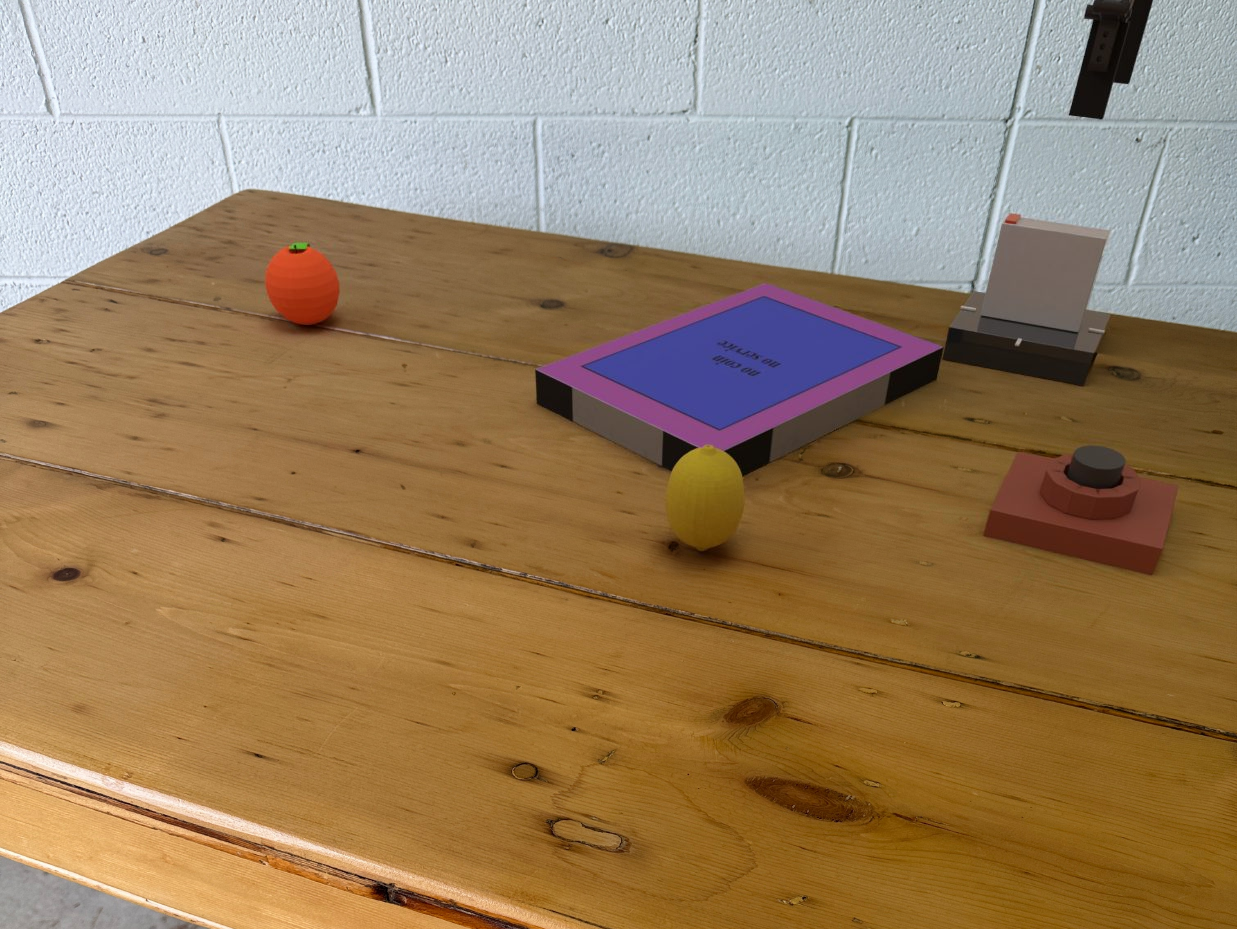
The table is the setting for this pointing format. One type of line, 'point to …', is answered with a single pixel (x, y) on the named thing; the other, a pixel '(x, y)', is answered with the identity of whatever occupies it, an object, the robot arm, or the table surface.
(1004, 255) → the grey panel on base
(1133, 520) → the switch block
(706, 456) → the lemon
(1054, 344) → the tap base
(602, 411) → the book
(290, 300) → the clementine
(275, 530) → the table surface
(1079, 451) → the button
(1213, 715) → the table surface
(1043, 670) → the table surface
